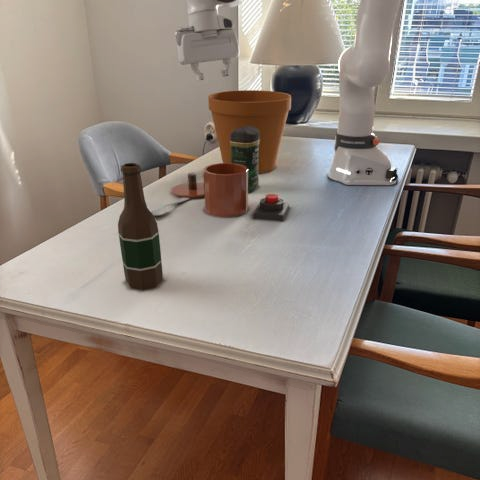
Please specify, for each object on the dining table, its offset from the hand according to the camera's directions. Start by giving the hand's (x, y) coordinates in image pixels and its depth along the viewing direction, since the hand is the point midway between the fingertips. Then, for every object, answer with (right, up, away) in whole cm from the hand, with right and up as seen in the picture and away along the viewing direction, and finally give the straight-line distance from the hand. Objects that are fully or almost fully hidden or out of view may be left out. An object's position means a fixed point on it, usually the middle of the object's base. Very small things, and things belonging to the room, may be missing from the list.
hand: (213, 78), depth 145 cm
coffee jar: (+10, -31, +8) cm, 34 cm away
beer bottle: (-12, -65, -45) cm, 80 cm away
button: (+17, -40, -12) cm, 46 cm away
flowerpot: (+11, -17, +30) cm, 37 cm away
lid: (-7, -33, +5) cm, 34 cm away
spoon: (-12, -41, -7) cm, 43 cm away
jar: (+4, -42, -8) cm, 43 cm away
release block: (+17, -43, -11) cm, 48 cm away
